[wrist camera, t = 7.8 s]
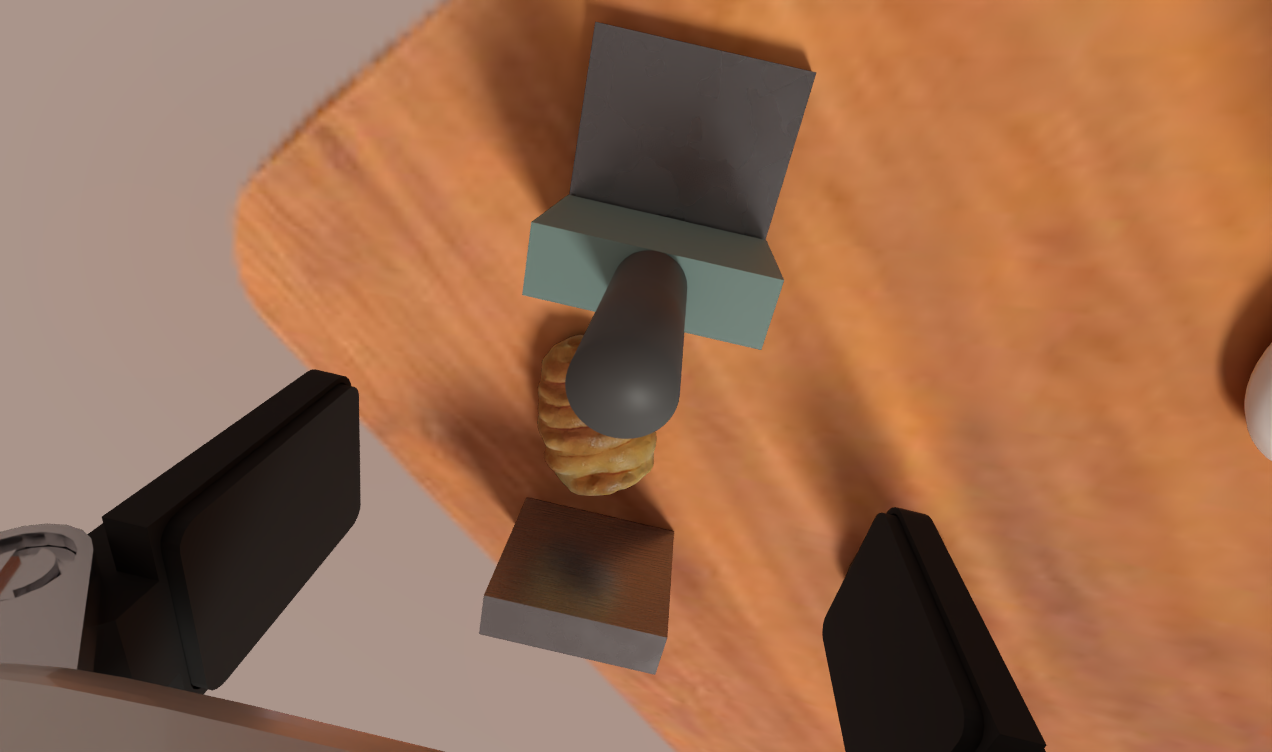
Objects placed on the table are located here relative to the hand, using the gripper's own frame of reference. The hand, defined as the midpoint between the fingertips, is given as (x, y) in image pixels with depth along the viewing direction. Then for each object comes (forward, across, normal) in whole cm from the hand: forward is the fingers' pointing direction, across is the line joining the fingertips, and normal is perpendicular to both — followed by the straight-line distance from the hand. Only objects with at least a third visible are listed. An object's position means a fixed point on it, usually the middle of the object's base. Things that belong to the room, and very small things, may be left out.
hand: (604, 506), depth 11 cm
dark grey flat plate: (+22, 0, -2) cm, 23 cm away
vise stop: (+22, 0, +21) cm, 30 cm away
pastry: (+23, +2, +12) cm, 26 cm away
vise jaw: (+21, 0, +1) cm, 21 cm away
